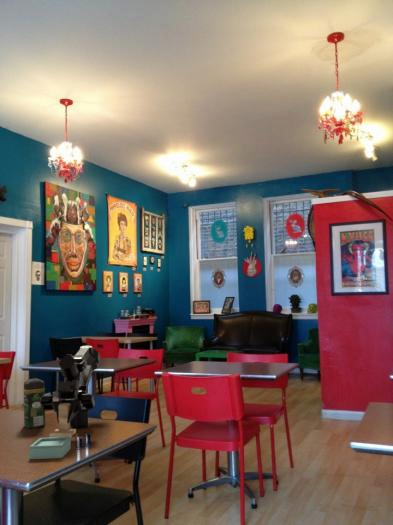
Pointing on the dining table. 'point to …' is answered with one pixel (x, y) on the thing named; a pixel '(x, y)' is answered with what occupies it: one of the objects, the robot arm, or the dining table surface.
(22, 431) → the dining table surface
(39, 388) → the coffee jar
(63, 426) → the tan boxy piece
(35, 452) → the teal square tray
